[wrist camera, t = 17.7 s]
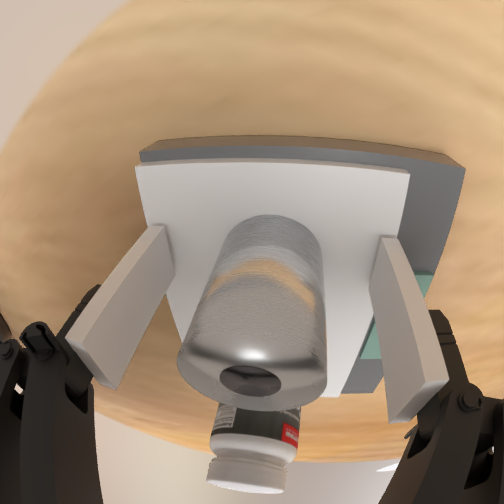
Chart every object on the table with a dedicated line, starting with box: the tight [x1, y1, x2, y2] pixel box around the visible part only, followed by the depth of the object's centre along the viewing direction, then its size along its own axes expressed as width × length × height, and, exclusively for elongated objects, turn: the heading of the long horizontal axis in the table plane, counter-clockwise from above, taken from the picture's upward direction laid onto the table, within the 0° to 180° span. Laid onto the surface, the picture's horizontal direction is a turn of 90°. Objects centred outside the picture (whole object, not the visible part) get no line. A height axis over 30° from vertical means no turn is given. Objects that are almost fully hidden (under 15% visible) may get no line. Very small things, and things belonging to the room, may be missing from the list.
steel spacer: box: [177, 215, 327, 411], centre depth 10 cm, size 4×4×6 cm
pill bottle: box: [206, 403, 301, 493], centre depth 14 cm, size 5×5×8 cm
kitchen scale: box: [135, 136, 465, 397], centre depth 16 cm, size 14×18×3 cm
